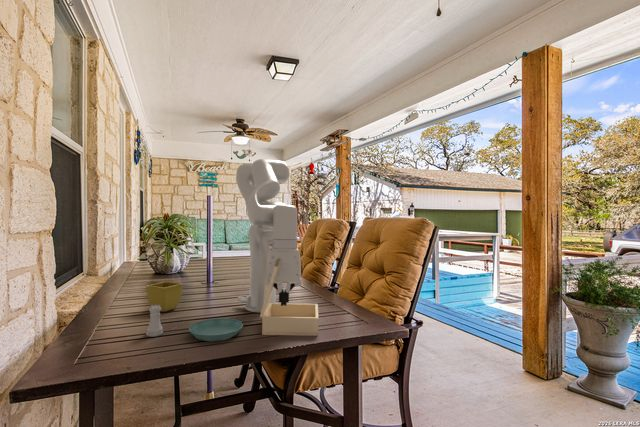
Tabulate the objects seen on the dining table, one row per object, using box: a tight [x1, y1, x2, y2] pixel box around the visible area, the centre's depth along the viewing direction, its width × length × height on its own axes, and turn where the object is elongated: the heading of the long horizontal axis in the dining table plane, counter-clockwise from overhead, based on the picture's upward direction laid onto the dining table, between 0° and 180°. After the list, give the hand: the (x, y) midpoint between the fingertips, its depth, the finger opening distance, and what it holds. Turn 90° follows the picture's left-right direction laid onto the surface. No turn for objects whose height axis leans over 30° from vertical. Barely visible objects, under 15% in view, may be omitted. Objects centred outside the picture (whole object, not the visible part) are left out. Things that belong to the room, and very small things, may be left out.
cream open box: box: [261, 302, 319, 337], centre depth 107 cm, size 16×16×5 cm
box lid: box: [259, 259, 281, 318], centre depth 107 cm, size 17×16×1 cm
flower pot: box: [145, 281, 184, 313], centre depth 122 cm, size 9×9×9 cm
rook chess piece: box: [145, 305, 164, 338], centre depth 97 cm, size 4×4×8 cm
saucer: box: [188, 317, 244, 342], centre depth 98 cm, size 15×15×3 cm
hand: (283, 304), depth 106 cm, fingers closed
